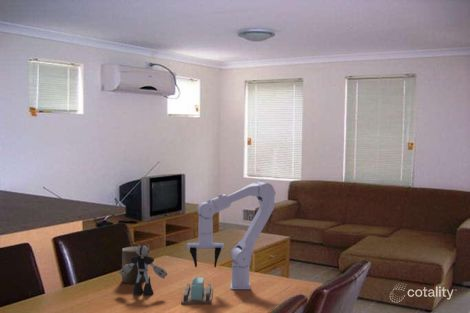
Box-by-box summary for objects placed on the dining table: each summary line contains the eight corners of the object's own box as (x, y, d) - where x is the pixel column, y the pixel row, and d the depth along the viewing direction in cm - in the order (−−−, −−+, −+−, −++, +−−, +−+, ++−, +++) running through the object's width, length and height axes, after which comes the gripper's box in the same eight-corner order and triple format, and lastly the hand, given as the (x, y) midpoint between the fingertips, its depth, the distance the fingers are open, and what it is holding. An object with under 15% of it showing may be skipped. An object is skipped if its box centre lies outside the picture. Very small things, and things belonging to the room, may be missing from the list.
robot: (117, 293, 195) (116, 242, 194) (122, 289, 199) (122, 240, 199) (164, 297, 191) (164, 245, 190) (169, 293, 195) (169, 242, 194)
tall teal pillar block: (193, 289, 197) (193, 276, 197) (203, 289, 197) (203, 276, 197) (191, 299, 185) (191, 286, 185) (202, 299, 185) (202, 286, 185)
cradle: (185, 290, 199) (185, 283, 199) (212, 290, 199) (213, 283, 199) (181, 304, 183) (181, 296, 183) (211, 304, 183) (211, 296, 183)
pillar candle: (142, 284, 207) (142, 248, 206) (119, 284, 207) (119, 247, 207) (147, 277, 217) (147, 243, 216) (124, 277, 217) (125, 243, 216)
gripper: (186, 234, 195) (186, 269, 196) (223, 234, 195) (223, 269, 196) (187, 231, 202) (188, 264, 203) (224, 231, 202) (223, 264, 203)
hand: (205, 266), depth 200 cm, fingers open, 7 cm apart
